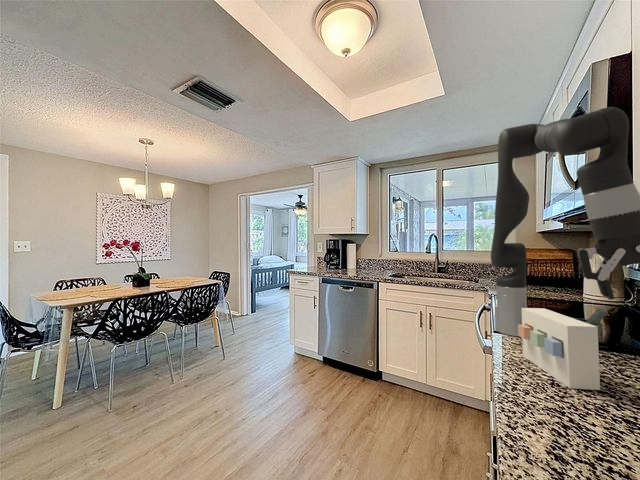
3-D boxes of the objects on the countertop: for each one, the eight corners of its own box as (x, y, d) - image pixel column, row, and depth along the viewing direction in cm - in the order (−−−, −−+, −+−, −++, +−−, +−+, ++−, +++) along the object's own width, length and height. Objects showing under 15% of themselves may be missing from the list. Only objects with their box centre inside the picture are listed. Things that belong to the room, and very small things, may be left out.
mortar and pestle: (562, 342, 92) (560, 306, 93) (562, 335, 99) (561, 301, 100) (610, 350, 85) (609, 311, 85) (607, 342, 92) (606, 306, 92)
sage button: (537, 347, 71) (537, 334, 72) (530, 342, 75) (530, 330, 75) (546, 347, 71) (545, 334, 71) (538, 343, 74) (538, 330, 74)
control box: (569, 388, 63) (567, 325, 64) (523, 355, 82) (521, 307, 82) (600, 390, 62) (597, 326, 63) (545, 356, 81) (544, 308, 81)
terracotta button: (524, 339, 77) (524, 327, 77) (518, 335, 81) (517, 324, 81) (532, 339, 77) (532, 327, 77) (526, 335, 80) (525, 324, 80)
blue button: (553, 356, 66) (552, 342, 66) (544, 351, 69) (544, 337, 69) (562, 356, 65) (562, 342, 65) (553, 351, 68) (553, 338, 68)
